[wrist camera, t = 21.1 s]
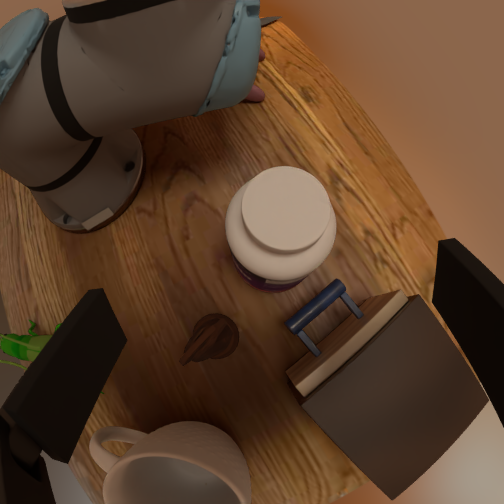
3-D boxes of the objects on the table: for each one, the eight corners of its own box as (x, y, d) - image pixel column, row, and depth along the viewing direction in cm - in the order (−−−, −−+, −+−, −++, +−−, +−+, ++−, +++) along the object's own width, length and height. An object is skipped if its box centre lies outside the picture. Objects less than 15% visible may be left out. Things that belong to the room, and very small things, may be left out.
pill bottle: (228, 225, 34) (211, 157, 20) (302, 213, 34) (331, 141, 20) (240, 300, 32) (229, 281, 18) (317, 286, 32) (363, 258, 18)
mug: (111, 455, 28) (53, 501, 15) (133, 375, 30) (69, 399, 17) (234, 502, 27) (225, 574, 14) (267, 425, 29) (274, 482, 16)
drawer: (258, 340, 30) (260, 345, 23) (344, 267, 32) (370, 250, 24) (356, 451, 27) (381, 480, 20) (431, 379, 29) (471, 388, 21)
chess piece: (248, 335, 31) (246, 340, 21) (214, 370, 30) (197, 390, 21) (215, 304, 32) (198, 295, 22) (182, 339, 31) (151, 345, 21)
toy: (30, 305, 32) (-26, 300, 22) (108, 319, 31) (54, 320, 21) (29, 371, 30) (-25, 380, 20) (107, 393, 29) (56, 417, 20)
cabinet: (286, 382, 30) (300, 405, 21) (376, 303, 32) (419, 293, 22) (360, 463, 28) (392, 501, 18) (439, 387, 29) (489, 400, 20)
